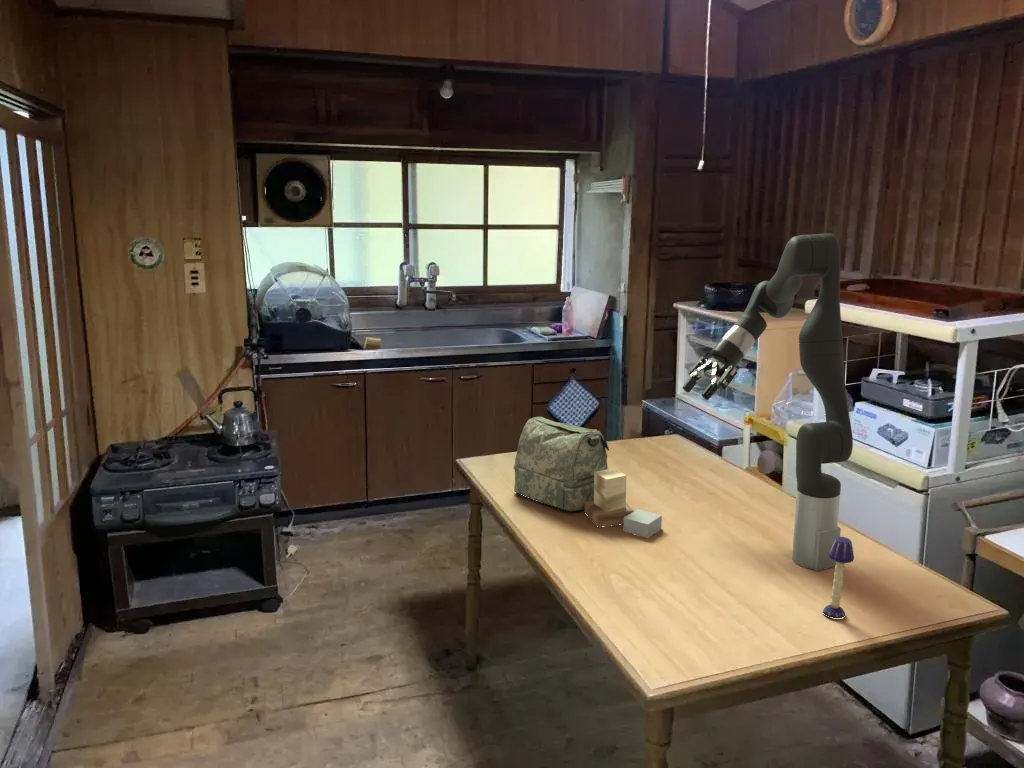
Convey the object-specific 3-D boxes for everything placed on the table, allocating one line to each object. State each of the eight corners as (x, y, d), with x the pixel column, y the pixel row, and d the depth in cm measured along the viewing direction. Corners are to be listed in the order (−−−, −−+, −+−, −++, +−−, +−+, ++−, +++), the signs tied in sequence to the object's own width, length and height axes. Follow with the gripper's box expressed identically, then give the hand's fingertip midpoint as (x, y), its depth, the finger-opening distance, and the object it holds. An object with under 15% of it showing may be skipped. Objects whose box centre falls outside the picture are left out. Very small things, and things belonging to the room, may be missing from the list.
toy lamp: (842, 609, 164) (849, 533, 160) (852, 621, 160) (859, 543, 156) (819, 610, 164) (825, 534, 160) (828, 621, 159) (835, 544, 155)
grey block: (661, 530, 204) (661, 515, 203) (647, 539, 199) (647, 524, 198) (637, 523, 209) (637, 509, 208) (623, 532, 203) (623, 517, 202)
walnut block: (634, 525, 208) (634, 510, 207) (598, 529, 206) (598, 515, 205) (619, 510, 218) (619, 496, 217) (584, 515, 215) (584, 501, 214)
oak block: (625, 507, 209) (626, 475, 207) (606, 512, 207) (606, 479, 204) (613, 499, 214) (613, 468, 212) (593, 503, 212) (594, 472, 210)
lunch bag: (618, 501, 223) (619, 426, 218) (572, 519, 211) (572, 440, 206) (552, 477, 242) (552, 408, 237) (507, 493, 230) (506, 420, 225)
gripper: (708, 333, 213) (670, 379, 212) (742, 342, 200) (702, 391, 199) (724, 351, 216) (687, 396, 215) (758, 361, 203) (719, 409, 202)
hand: (694, 394), depth 207 cm, fingers open, 8 cm apart
